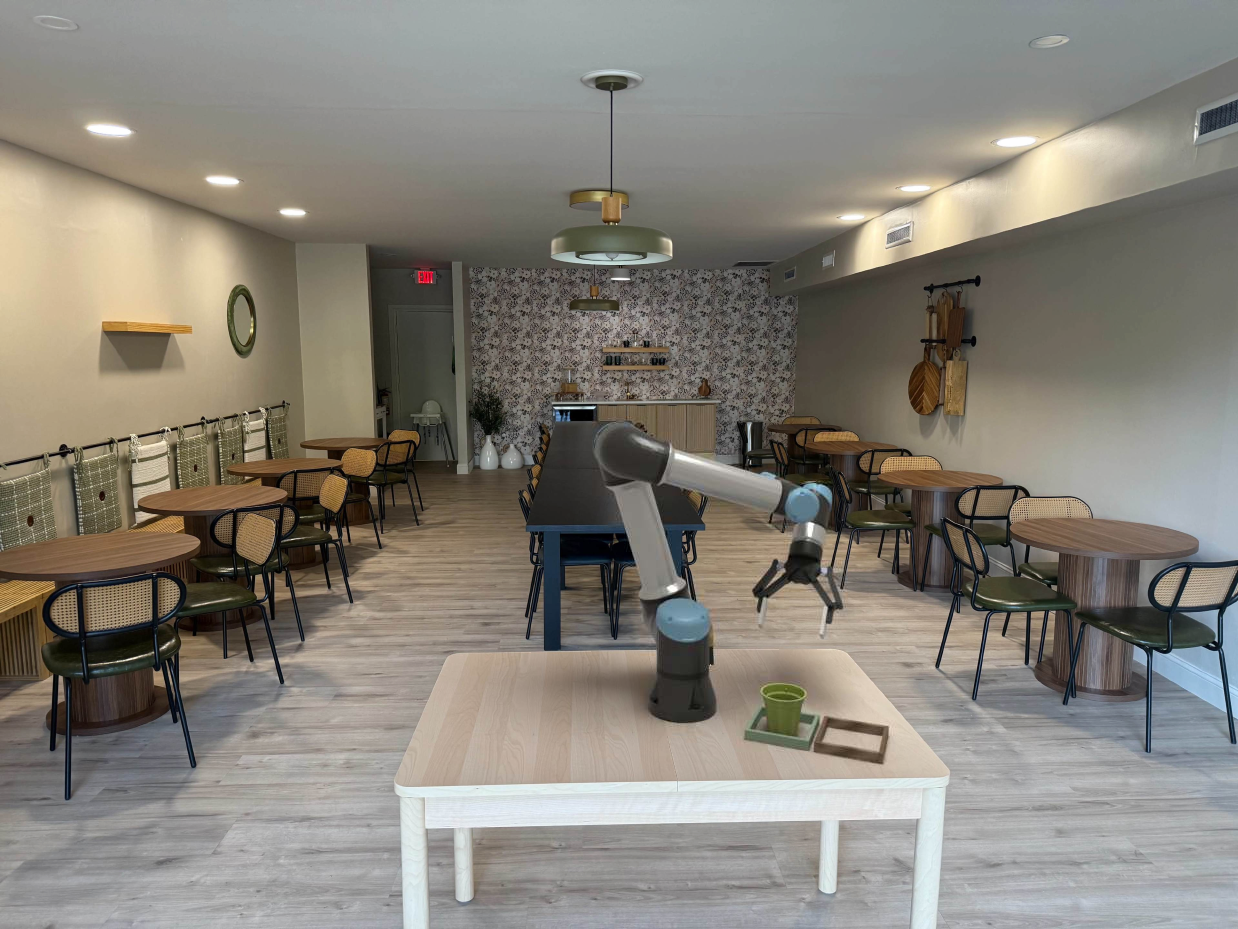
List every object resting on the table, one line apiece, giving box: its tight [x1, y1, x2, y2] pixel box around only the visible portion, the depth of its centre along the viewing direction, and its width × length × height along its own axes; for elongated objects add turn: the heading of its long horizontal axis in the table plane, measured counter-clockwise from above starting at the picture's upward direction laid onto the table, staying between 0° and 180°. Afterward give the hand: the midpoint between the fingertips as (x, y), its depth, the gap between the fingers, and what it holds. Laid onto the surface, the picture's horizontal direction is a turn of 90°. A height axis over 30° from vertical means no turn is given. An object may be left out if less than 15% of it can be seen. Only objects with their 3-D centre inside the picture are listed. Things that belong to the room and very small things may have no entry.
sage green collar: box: [743, 705, 821, 751], centre depth 168 cm, size 13×13×2 cm
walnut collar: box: [813, 715, 890, 765], centre depth 163 cm, size 13×13×2 cm
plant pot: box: [759, 682, 808, 737], centre depth 168 cm, size 9×9×9 cm
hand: (790, 631), depth 178 cm, fingers open, 13 cm apart
